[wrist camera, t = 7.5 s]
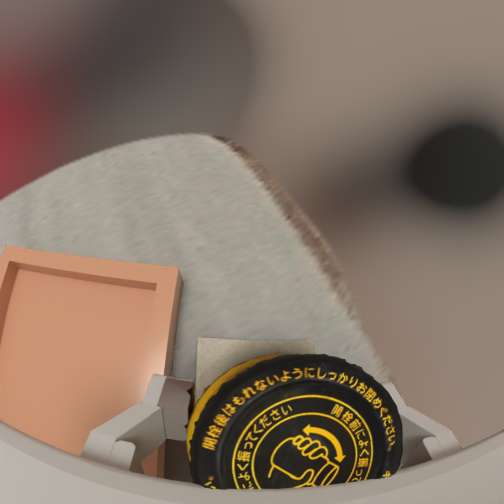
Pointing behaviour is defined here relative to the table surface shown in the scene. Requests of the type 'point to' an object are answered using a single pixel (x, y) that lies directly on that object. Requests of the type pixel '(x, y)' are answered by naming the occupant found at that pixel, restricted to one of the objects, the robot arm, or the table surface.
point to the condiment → (287, 418)
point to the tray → (82, 342)
